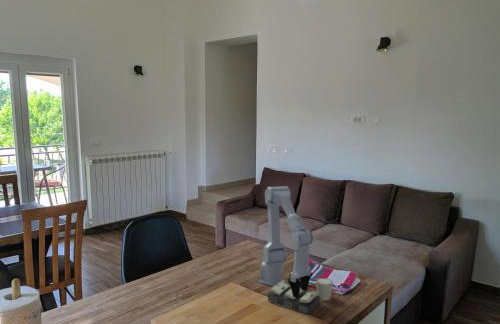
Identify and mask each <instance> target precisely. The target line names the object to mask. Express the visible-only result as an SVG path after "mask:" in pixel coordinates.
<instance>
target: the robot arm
mask: <svg viewBox="0 0 500 324" xmlns="http://www.w3.org/2000/svg"><path fill="white" fill-rule="evenodd" d="M291 196H292V194H291V190H290V188H289V186H287V185H285V186H283V185H282V186H267V187H266V189H265V191H264V202H265V205H267V220H268V221H267V224H268V225H267V227H268V242H267V243H266V244H265V245H264V246H263V247H262V248H263V249H262V250H263V251H262V263H261V265H260V267H259V268H260V269H259V270H260V271H259V281H258V283H260V284H261V283H262V284H263V285H267V286H271V287H274V286H275V285H277V284H278V283H279V282H281V281H283V282H285V283H286V280H285V279H283V277H282V276H283V275H282V274H283V265H285V262H286V261H287V258H288V255H287V250H286V246H285V244H284V243H282V242H281V230H280V229H281V228H280V226H281V225H280V224H281V223H280V206H281V209H282V210H283V211H284V213H285V215H286V216H287V219H286V222H287V225H288V227H289V229H290V231H291V235H292V236H291V240H292V245H293V250H294V253H293V254H294V257H293V259H294V260H293V270H292V274H291V275H290V277H289V278H288V280H287V281H288V285H290V287H291V289H292V294H293V297H296V298H298V297H299V293H300V288H301V290H304V292H307V290H308V288H309V283H310V280H311V278H312V276H313V272H311V266H310V265H309V263H310V260H309V259H310V245H312V244H313V240H314V237H313V234H312V231H311V230H310V229H308V227H306V226H305V224H304V222H303V220H302V217H301V216H300V215H299V214H297V213H296V212H295V209H294V206H293V203H292V200H291Z"/></svg>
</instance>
